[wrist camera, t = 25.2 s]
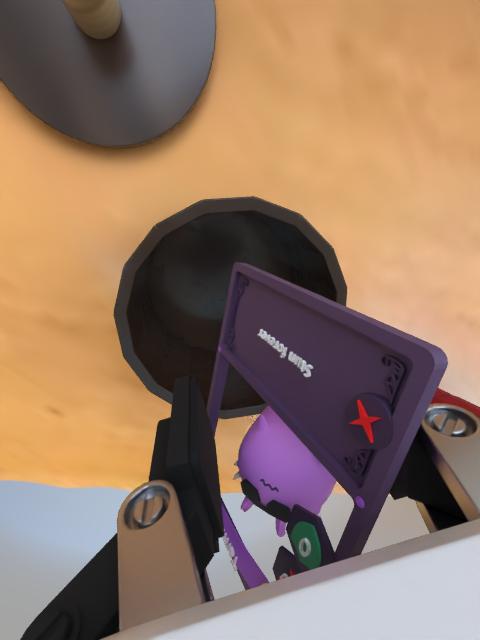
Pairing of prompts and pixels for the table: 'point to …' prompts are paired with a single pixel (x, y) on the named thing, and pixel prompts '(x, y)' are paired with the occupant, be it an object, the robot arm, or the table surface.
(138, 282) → the basket
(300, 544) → the purple toy package
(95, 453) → the table surface
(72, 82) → the basket lid
